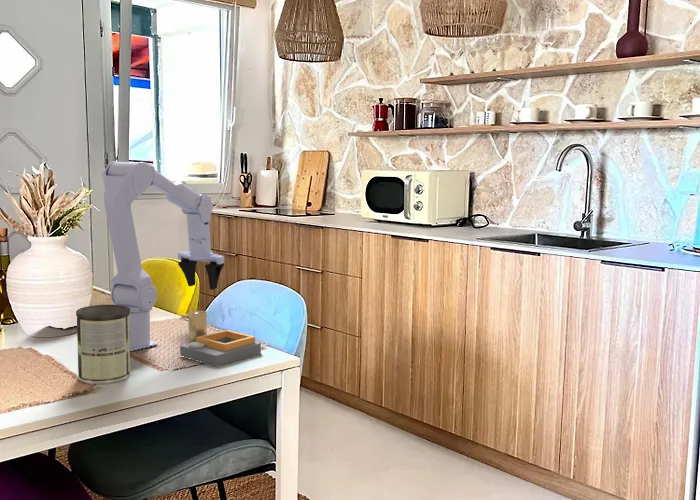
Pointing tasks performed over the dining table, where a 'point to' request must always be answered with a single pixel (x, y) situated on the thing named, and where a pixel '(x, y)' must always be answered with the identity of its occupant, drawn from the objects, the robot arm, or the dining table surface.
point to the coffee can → (103, 343)
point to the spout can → (196, 324)
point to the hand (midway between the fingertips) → (202, 287)
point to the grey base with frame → (221, 348)
